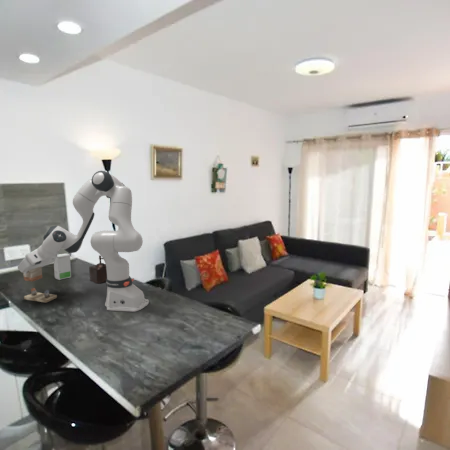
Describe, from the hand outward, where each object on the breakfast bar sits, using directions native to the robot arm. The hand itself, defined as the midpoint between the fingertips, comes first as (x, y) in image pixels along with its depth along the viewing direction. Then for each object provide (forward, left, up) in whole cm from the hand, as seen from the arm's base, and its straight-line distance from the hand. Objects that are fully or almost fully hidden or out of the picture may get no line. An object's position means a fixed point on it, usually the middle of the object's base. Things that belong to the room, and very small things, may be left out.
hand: (31, 270), depth 161 cm
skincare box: (+10, -31, -15) cm, 36 cm away
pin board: (-5, +1, -15) cm, 16 cm away
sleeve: (-1, 0, -5) cm, 5 cm away
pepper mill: (-18, -37, -15) cm, 44 cm away
